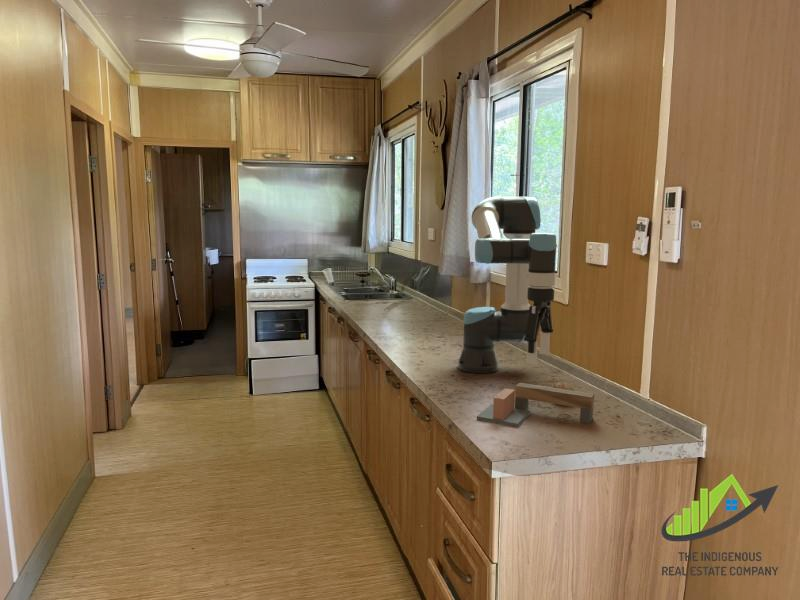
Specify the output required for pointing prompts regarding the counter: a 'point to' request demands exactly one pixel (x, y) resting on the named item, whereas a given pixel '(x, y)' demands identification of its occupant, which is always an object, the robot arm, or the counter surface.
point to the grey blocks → (585, 414)
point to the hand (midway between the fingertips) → (538, 358)
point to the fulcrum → (504, 410)
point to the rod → (555, 395)
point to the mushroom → (563, 386)
